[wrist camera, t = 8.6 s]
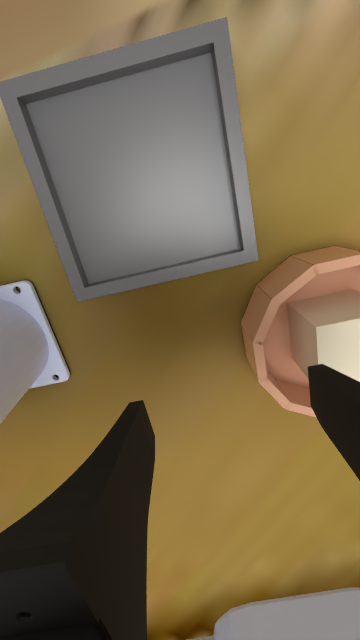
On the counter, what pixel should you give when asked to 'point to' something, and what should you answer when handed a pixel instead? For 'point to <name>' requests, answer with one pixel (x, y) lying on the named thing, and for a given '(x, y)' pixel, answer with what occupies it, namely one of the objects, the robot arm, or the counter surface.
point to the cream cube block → (327, 332)
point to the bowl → (273, 324)
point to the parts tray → (139, 160)
